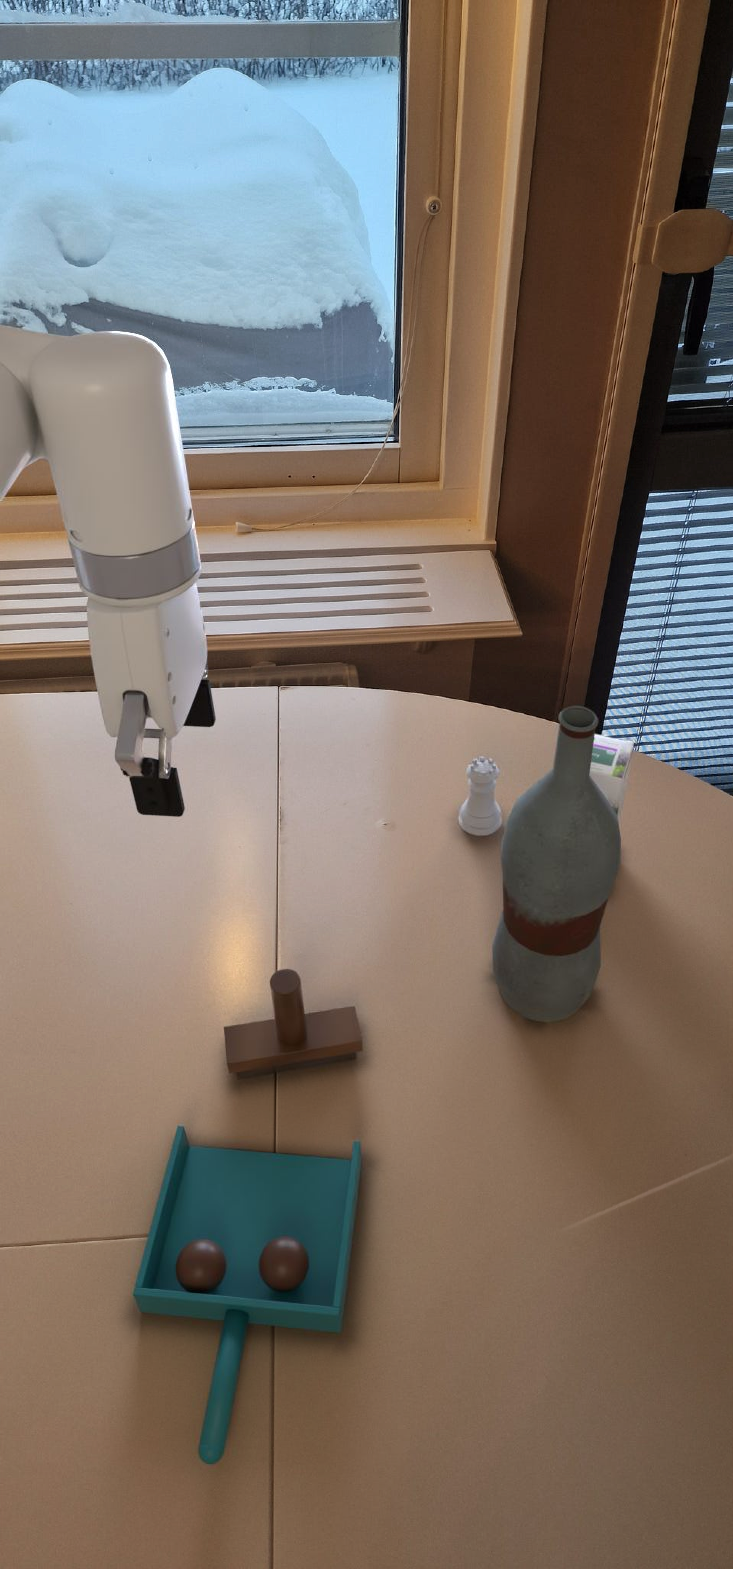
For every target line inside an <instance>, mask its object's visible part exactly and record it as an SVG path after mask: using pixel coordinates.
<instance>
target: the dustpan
mask: <svg viewBox="0 0 733 1569" xmlns="http://www.w3.org/2000/svg"><path fill="white" fill-rule="evenodd" d="M362 1162H363V1160H362V1147H361V1140H353V1143H352V1150H351V1159H344V1158H333V1157H332V1158H331V1157H320V1156H310V1155H299V1154H287V1153H274V1152H263V1151H253V1150H252V1151H251V1150H240V1149H230V1148H218V1147H205V1146H194V1145H190V1142H189V1139H188V1135H187V1133H186V1129H185V1126H184V1125H177V1127H176V1130H175V1135H174V1138H173V1142H172V1146H171V1149H170V1154H169V1157H168V1161H167V1164H166V1167H165V1168H166V1169H165V1172H164V1175H163V1180H162V1183H161V1188H160V1190H159V1194H158V1199H157V1202H156V1206H155V1210H154V1213H153V1217H152V1221H151V1224H150V1227H149V1232H148V1236H147V1239H146V1244H145V1248H144V1251H143V1255H142V1257H141V1262H140V1266H139V1270H138V1273H137V1277H136V1280H135V1283H134V1289H133V1292H132V1295H133V1298H134V1300H135V1302H136V1305H137V1307H138V1310H139V1311H140V1313H144V1314H145V1313H146V1314H154V1315H155V1314H156V1315H165V1316H176V1317H185V1318H195V1319H204V1320H213V1321H221V1322H223V1323H222V1328H221V1333H220V1337H219V1343H218V1348H217V1354H216V1356H215V1357H216V1359H215V1363H214V1368H213V1373H212V1376H211V1377H212V1378H211V1384H210V1388H209V1393H208V1398H207V1404H206V1408H205V1413H204V1419H203V1423H202V1428H201V1433H200V1438H199V1443H198V1450H197V1453H198V1456H199V1459H200V1460H201V1461H202V1463H204V1464H206V1465H210V1466H211V1465H215V1464H217V1463H218V1462H220V1461H221V1459H222V1458H223V1456H224V1453H225V1449H226V1444H227V1437H228V1433H229V1427H230V1422H231V1417H232V1411H233V1406H234V1400H235V1394H236V1389H237V1383H238V1378H239V1373H240V1367H241V1361H242V1356H243V1351H244V1347H245V1346H244V1345H245V1340H246V1335H247V1329H248V1324H250V1325H251V1324H252V1325H261V1326H270V1327H281V1328H290V1329H301V1330H308V1331H309V1330H310V1331H320V1332H329V1333H338V1334H341V1333H342V1328H343V1322H344V1314H345V1306H346V1297H347V1288H348V1280H349V1273H350V1272H349V1271H350V1262H351V1256H352V1255H351V1254H352V1247H353V1246H352V1245H353V1238H354V1230H355V1221H356V1213H357V1206H358V1198H359V1197H358V1196H359V1188H360V1179H361V1172H362ZM278 1237H291V1238H294V1239H296V1240H298V1241H299V1242H300V1243H301V1244H302V1245H303V1246H304V1248H305V1249H306V1251H307V1254H308V1258H309V1269H308V1273H307V1275H306V1278H305V1279H304V1281H303V1282H302V1283H301V1284H300V1285H299V1286H298V1287H297V1288H295V1289H293V1290H291V1291H287V1292H279V1291H275V1290H273V1289H271V1288H270V1287H268V1286H267V1285H266V1284H265V1283H264V1281H263V1280H262V1278H261V1276H260V1272H259V1258H260V1255H261V1252H262V1250H263V1249H264V1247H265V1246H266V1245H267V1244H268V1243H269V1242H270V1241H272V1240H273V1239H275V1238H278ZM200 1239H205V1240H210V1241H212V1242H214V1243H216V1244H217V1245H218V1246H219V1247H220V1248H221V1249H222V1251H223V1252H224V1255H225V1258H226V1273H225V1276H224V1278H223V1280H222V1282H221V1283H220V1285H219V1286H218V1287H217V1288H216V1289H214V1290H213V1291H211V1292H209V1293H207V1294H197V1293H189V1292H188V1291H186V1290H185V1289H184V1288H183V1287H182V1286H181V1285H180V1284H179V1282H178V1279H177V1276H176V1261H177V1258H178V1256H179V1254H180V1252H181V1251H182V1249H183V1248H184V1247H185V1246H186V1245H188V1244H189V1243H191V1242H193V1241H195V1240H200Z"/></svg>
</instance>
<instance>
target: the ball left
mask: <svg viewBox="0 0 733 1569" xmlns="http://www.w3.org/2000/svg"><path fill="white" fill-rule="evenodd" d="M225 1273H226V1258H225V1255H224V1252H223V1251H222V1249H221V1248H220V1247H219V1246H218V1245H217V1244H216V1243H214V1242H212V1241H210V1240H205V1239H200V1240H195V1241H193V1242H191V1243H189V1244H188V1245H186V1246H185V1247H184V1248H183V1249H182V1251H181V1252H180V1254H179V1256H178V1258H177V1261H176V1276H177V1279H178V1282H179V1284H180V1285H181V1286H182V1287H183V1288H184V1289H185V1290H186V1291H188V1292H189V1293H197V1294H207V1293H209V1292H211V1291H213V1290H214V1289H216V1288H217V1287H218V1286H219V1285H220V1283H221V1282H222V1280H223V1278H224V1276H225Z"/></svg>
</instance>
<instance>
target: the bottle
mask: <svg viewBox="0 0 733 1569" xmlns="http://www.w3.org/2000/svg"><path fill="white" fill-rule="evenodd" d="M557 717H558V722H559V725H558V732H557V738H556V745H555V753H554V759H553V765H552V766H553V767H552V769H550V771H548V772H547V773H545V775H543V777H541V778H540V779H539V780H537V781H536V782H535V783H534V784H533V785H531V786H530V787H529V788H528V789H527V790H525V791H524V792H523V793H522V794H521V795H520V796H519V797H517V798H516V800H515V802H514V804H513V806H512V809H511V811H510V813H509V815H508V818H507V819H506V822H505V825H504V826H505V827H504V830H503V834H502V837H501V842H500V861H501V873H502V874H501V875H502V876H501V877H502V912H501V915H500V918H499V921H498V924H497V927H496V931H495V935H494V939H493V941H492V942H493V943H492V946H491V947H492V966H493V977H494V981H495V984H496V986H497V989H498V991H499V994H500V997H501V998H502V1000H503V1001H504V1003H505V1004H506V1005H507V1006H508V1007H509V1009H510V1010H512V1011H514V1012H515V1013H516V1014H518V1015H520V1016H521V1017H523V1018H526V1019H529V1020H532V1021H534V1022H541V1023H542V1022H544V1023H545V1022H546V1023H554V1022H558V1021H563V1020H566V1019H568V1018H569V1017H571V1016H574V1015H575V1014H576V1013H578V1012H579V1010H580V1009H581V1008H582V1007H583V1005H584V1004H585V1003H586V1002H587V1000H588V999H589V998H590V996H591V994H592V992H593V990H594V986H595V984H596V982H597V979H598V976H599V972H600V969H601V965H602V964H601V963H602V962H601V961H602V959H601V958H602V957H601V956H602V952H601V951H602V941H601V924H602V921H603V917H604V915H605V912H606V907H607V905H608V901H609V898H610V895H611V892H612V889H613V886H614V884H615V881H616V879H617V877H618V873H619V869H620V866H621V860H622V859H621V856H622V854H621V852H622V837H621V831H620V829H621V828H620V823H618V818H617V814H616V812H615V811H614V809H613V807H612V806H611V804H610V803H609V801H608V800H607V798H606V797H605V796H604V794H603V793H602V791H601V790H600V789H599V787H598V786H597V785H596V783H595V782H594V780H593V779H592V778H591V776H590V775H589V774H590V766H591V759H592V751H593V743H594V735H595V734H596V728H597V727H598V726H599V718H598V717H597V715H596V714H595V712H594V711H593V710H591V709H590V708H589V707H586V706H582V705H571V706H567V707H565V708H564V709H563V710H561V711H560V712H559V714H558V715H557Z"/></svg>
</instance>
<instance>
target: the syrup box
mask: <svg viewBox="0 0 733 1569" xmlns="http://www.w3.org/2000/svg"><path fill="white" fill-rule="evenodd" d="M634 748H635V740H623V739H618V738H614V737H612V736H607V735H603V734H598V733H595V735H594V743H593V751H592V759H591V766H590V774H589V775H590V776H591V778H592V779H593V780H594V782H595V783H596V785H597V786H598V787H599V789H600V790H601V791H602V793H603V794H604V796H605V797H606V798H607V800H608V801H609V803H610V804H611V806H612V807H613V809H614V811H615V812H616V814H617V818H618V823H619V824H620V823H621V817H622V812H623V806H624V801H625V795H626V791H627V790H626V789H627V784H628V779H629V773H630V769H631V762H632V758H633V757H632V756H633V752H634Z"/></svg>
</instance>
